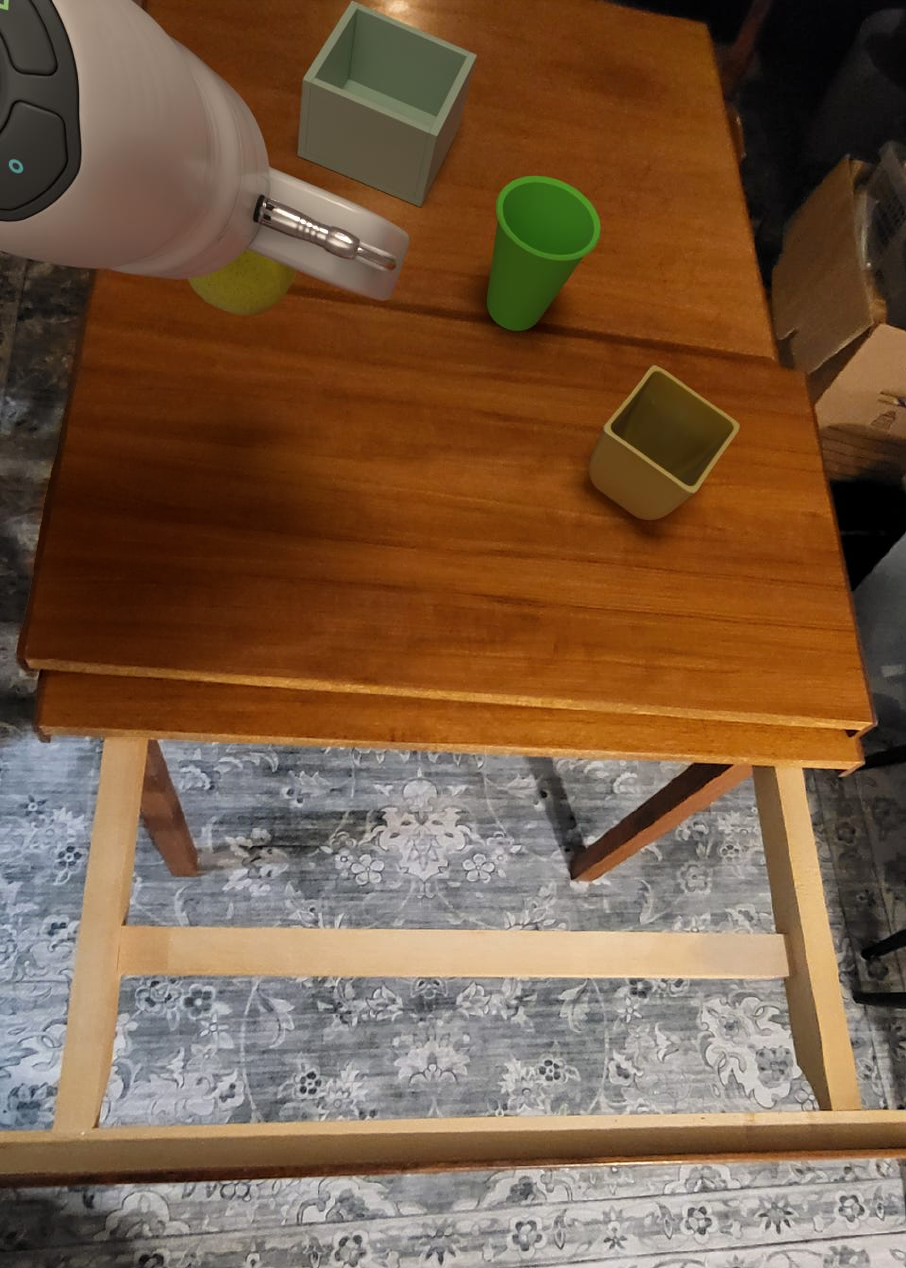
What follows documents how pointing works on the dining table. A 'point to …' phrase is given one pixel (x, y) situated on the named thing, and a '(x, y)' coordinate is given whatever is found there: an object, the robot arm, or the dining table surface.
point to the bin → (383, 103)
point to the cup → (537, 247)
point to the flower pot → (659, 446)
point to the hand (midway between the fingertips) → (246, 205)
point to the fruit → (245, 284)
